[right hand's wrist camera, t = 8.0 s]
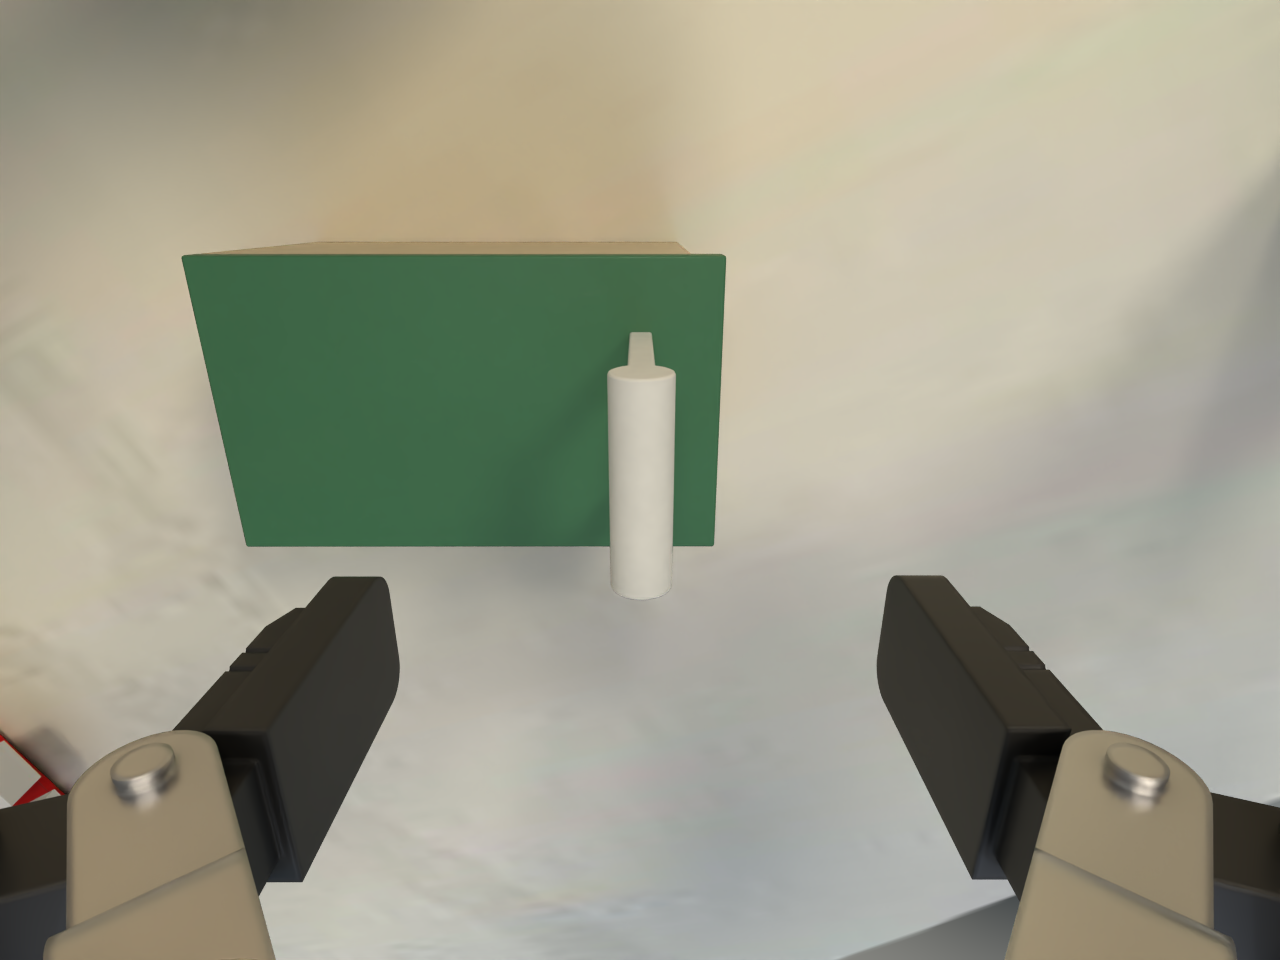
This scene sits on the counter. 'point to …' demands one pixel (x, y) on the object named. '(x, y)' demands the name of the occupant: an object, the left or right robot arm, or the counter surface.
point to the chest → (469, 248)
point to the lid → (470, 399)
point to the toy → (21, 779)
